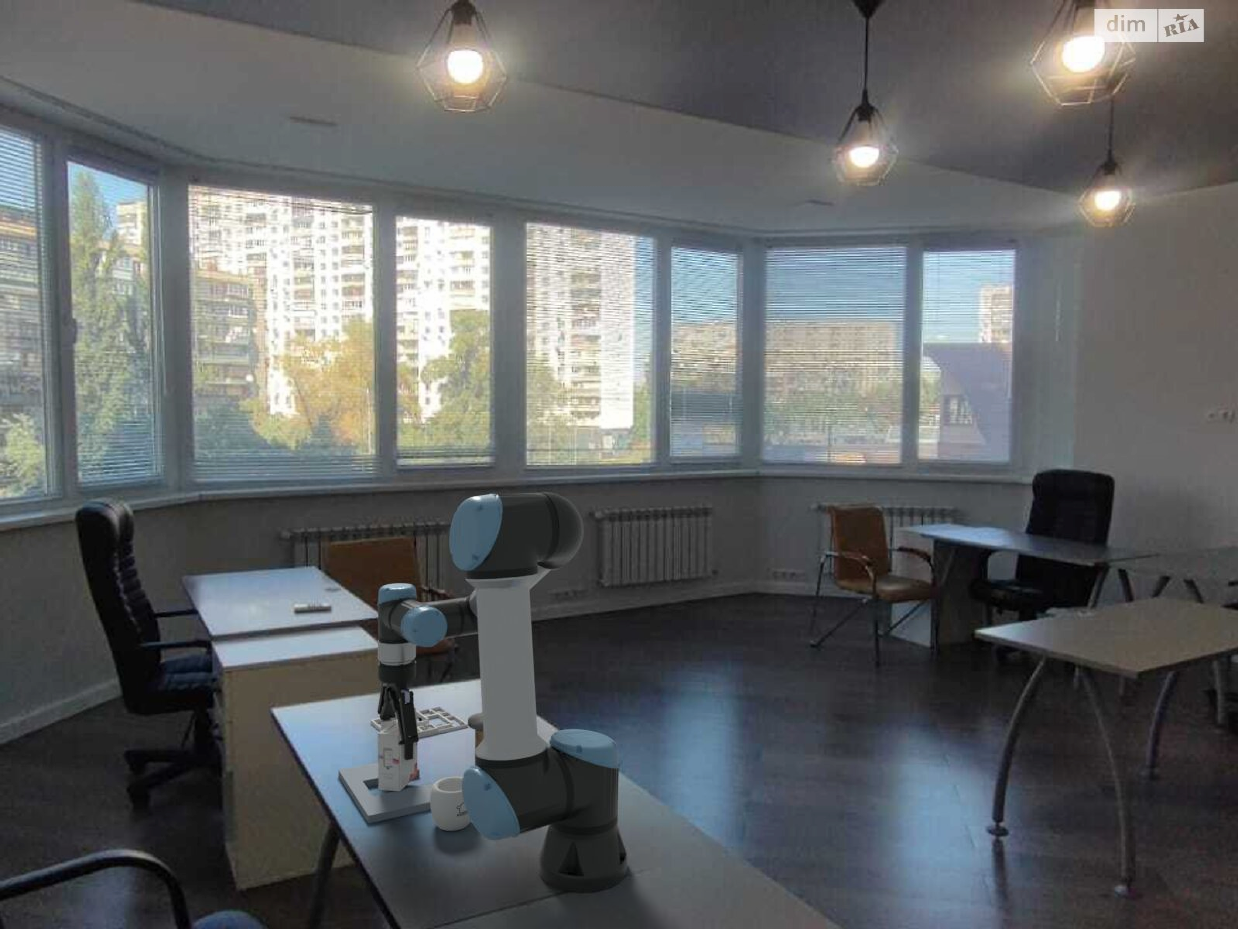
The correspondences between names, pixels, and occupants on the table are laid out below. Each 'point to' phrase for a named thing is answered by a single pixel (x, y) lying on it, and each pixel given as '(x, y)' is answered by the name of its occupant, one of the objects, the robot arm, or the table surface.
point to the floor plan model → (430, 728)
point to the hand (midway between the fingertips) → (397, 762)
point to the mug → (449, 804)
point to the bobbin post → (477, 727)
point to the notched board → (382, 795)
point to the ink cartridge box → (392, 759)
